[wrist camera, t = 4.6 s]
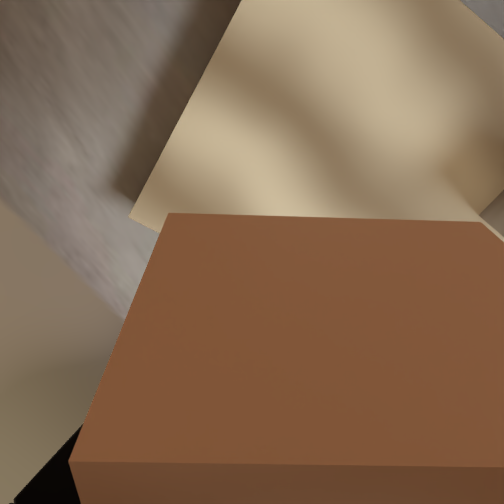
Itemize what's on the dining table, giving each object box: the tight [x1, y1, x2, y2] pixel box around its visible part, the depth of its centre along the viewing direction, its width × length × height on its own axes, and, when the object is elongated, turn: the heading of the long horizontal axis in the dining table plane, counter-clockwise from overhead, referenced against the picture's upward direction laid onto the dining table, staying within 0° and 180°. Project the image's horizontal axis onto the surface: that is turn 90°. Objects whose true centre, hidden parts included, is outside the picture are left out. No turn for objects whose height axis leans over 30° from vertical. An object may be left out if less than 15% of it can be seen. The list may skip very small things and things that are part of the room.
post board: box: [128, 0, 504, 242], centre depth 17 cm, size 14×20×6 cm
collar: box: [68, 213, 504, 504], centre depth 7 cm, size 6×6×5 cm
